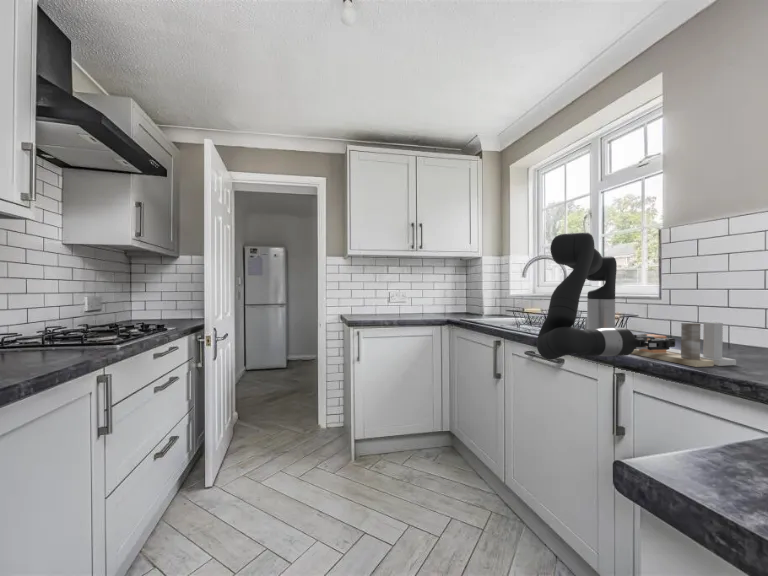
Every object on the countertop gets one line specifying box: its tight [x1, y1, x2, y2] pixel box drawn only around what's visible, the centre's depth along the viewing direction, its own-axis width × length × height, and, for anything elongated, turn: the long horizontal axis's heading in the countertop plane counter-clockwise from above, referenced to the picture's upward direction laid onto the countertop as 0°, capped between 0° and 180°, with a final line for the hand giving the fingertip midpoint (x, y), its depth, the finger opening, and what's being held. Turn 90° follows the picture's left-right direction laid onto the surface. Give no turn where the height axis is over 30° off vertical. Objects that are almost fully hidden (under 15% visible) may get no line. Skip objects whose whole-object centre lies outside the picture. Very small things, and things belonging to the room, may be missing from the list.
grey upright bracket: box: [666, 321, 737, 367], centre depth 118 cm, size 22×6×12 cm, turn 13°
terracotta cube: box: [641, 333, 668, 353], centre depth 121 cm, size 5×5×5 cm
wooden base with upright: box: [630, 322, 715, 368], centre depth 116 cm, size 22×6×12 cm, turn 13°
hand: (659, 340), depth 107 cm, fingers open, 8 cm apart
